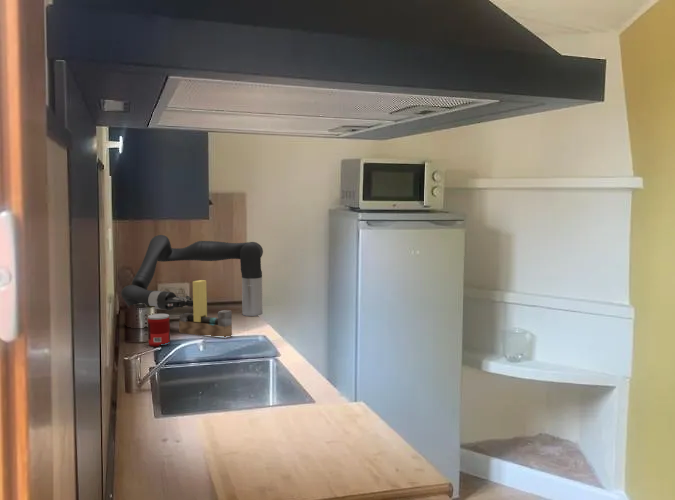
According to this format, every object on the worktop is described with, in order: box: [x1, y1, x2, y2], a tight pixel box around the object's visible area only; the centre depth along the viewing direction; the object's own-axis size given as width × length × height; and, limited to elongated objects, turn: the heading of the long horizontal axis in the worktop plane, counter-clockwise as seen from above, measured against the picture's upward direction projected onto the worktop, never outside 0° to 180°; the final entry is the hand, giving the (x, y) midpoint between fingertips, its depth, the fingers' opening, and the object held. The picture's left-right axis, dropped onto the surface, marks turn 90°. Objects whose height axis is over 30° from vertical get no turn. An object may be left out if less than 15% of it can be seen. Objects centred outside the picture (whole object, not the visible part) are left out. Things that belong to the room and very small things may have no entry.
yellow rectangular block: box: [192, 279, 208, 322], centre depth 266 cm, size 3×5×16 cm, turn 153°
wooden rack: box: [178, 309, 233, 337], centre depth 266 cm, size 23×4×10 cm, turn 63°
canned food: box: [147, 313, 171, 347], centre depth 251 cm, size 8×8×11 cm
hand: (195, 303), depth 266 cm, fingers closed
